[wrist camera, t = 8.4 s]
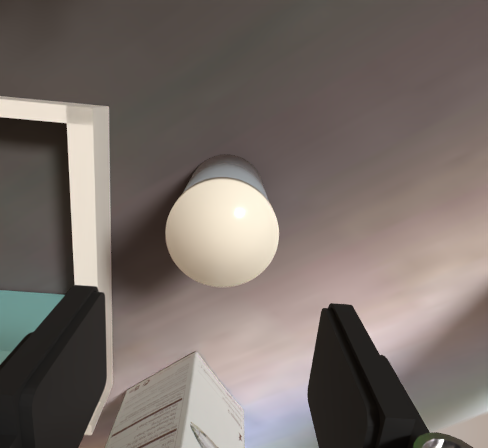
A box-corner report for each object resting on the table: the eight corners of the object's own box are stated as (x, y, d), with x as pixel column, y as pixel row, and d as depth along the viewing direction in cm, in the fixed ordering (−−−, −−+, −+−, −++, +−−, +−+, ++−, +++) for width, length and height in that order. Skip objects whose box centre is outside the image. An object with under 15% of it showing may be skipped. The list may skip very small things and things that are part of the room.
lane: (108, 106, 25) (79, 108, 20) (113, 384, 32) (91, 435, 27) (-84, 88, 24) (-161, 86, 20) (-38, 375, 31) (-87, 425, 27)
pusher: (86, 296, 29) (44, 353, 23) (89, 354, 31) (49, 423, 24) (-29, 288, 29) (-106, 344, 22) (-21, 347, 30) (-90, 416, 24)
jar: (269, 156, 26) (285, 185, 18) (260, 231, 28) (272, 291, 19) (189, 149, 26) (167, 175, 17) (185, 225, 28) (163, 283, 19)
